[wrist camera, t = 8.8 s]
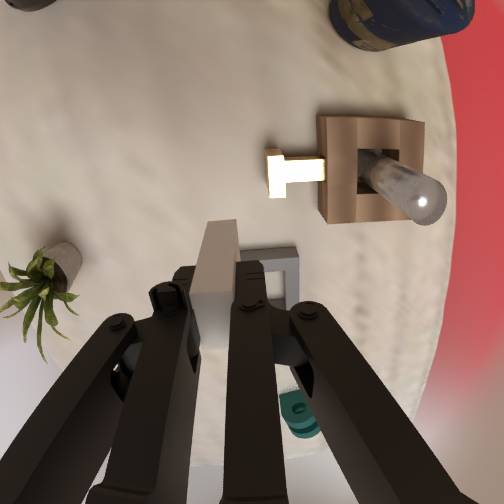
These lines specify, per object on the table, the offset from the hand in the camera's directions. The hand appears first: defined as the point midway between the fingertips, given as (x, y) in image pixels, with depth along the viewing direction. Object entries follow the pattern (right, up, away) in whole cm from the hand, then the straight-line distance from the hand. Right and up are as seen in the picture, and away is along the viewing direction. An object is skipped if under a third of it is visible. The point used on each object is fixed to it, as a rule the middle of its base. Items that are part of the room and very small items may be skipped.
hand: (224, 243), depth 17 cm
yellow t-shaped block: (+8, +10, +19) cm, 23 cm away
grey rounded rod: (+15, +11, +20) cm, 27 cm away
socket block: (+15, +11, +20) cm, 27 cm away
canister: (+15, +28, +11) cm, 34 cm away
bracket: (+16, -28, +39) cm, 51 cm away
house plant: (-26, -2, +25) cm, 36 cm away
